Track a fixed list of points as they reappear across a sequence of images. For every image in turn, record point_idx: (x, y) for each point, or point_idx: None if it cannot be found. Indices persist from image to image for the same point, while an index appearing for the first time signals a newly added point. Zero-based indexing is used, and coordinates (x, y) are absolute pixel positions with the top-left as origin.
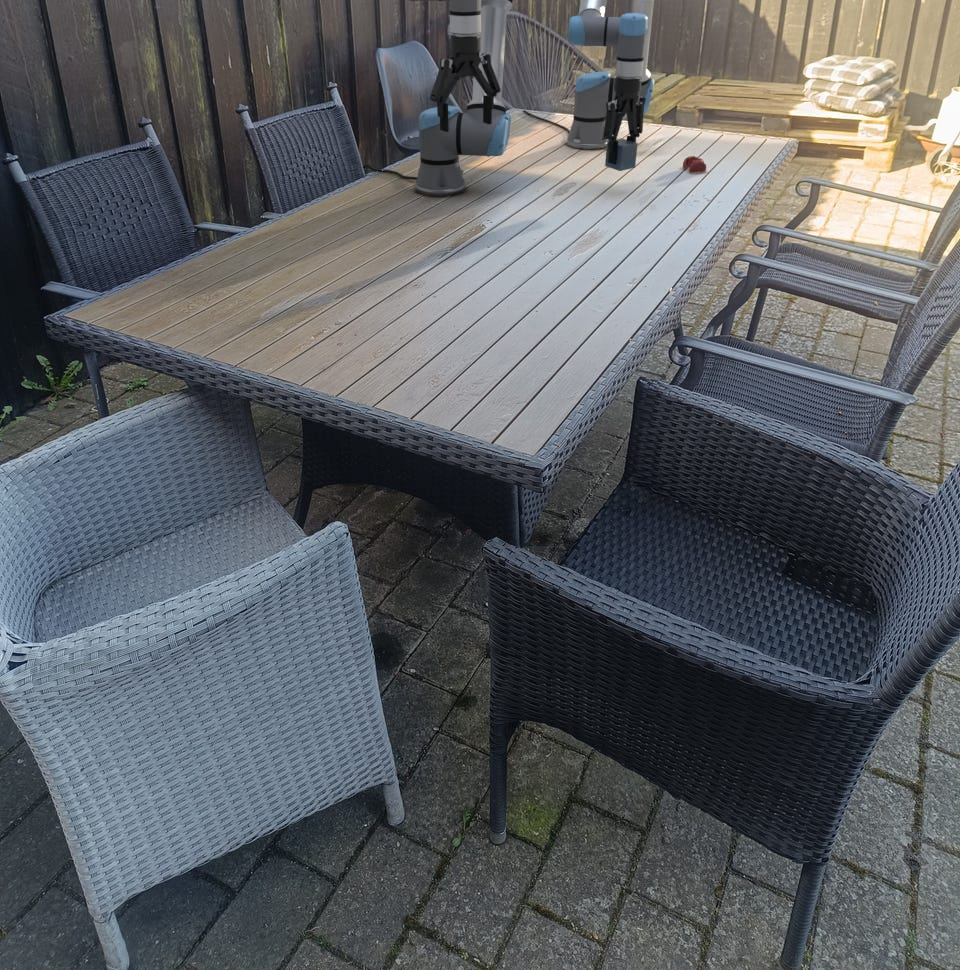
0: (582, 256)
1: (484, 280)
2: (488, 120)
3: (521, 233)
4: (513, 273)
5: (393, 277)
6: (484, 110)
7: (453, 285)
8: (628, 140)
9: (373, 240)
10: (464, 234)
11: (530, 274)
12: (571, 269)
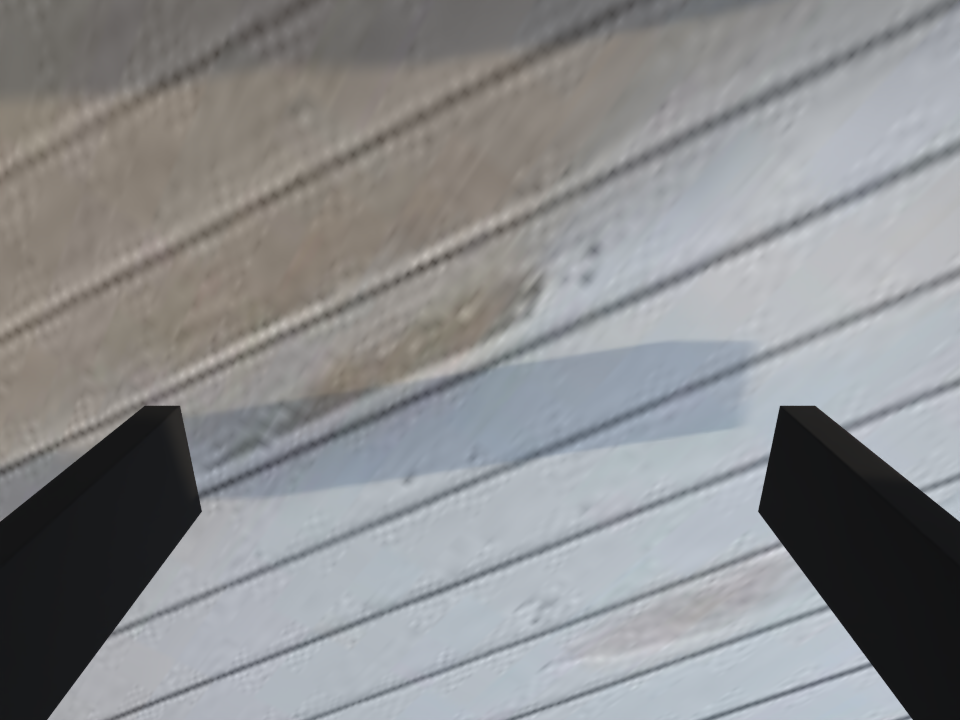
0: (595, 670)
1: (251, 652)
2: (781, 521)
3: (593, 439)
4: (349, 657)
5: (8, 510)
6: (862, 513)
7: (157, 635)
8: None
9: (38, 163)
10: (410, 328)
11: (385, 683)
12: (500, 711)
